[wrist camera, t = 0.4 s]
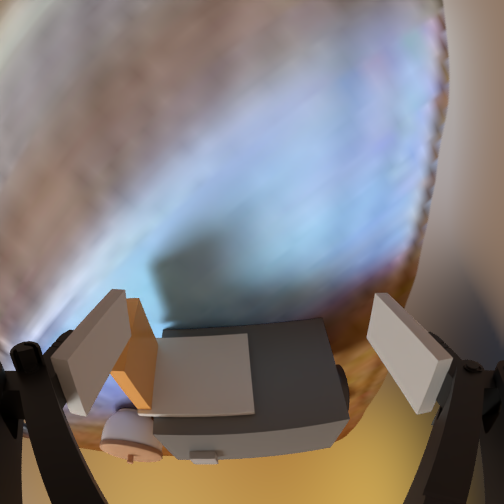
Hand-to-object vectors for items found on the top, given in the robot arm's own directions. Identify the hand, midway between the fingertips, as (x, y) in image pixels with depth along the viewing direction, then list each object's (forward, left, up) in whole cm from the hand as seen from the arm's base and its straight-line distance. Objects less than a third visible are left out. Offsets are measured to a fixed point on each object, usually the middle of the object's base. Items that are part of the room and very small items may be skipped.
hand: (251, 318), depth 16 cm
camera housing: (+24, -1, -14) cm, 28 cm away
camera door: (+14, -6, -12) cm, 19 cm away
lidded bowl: (+47, -25, -14) cm, 55 cm away
